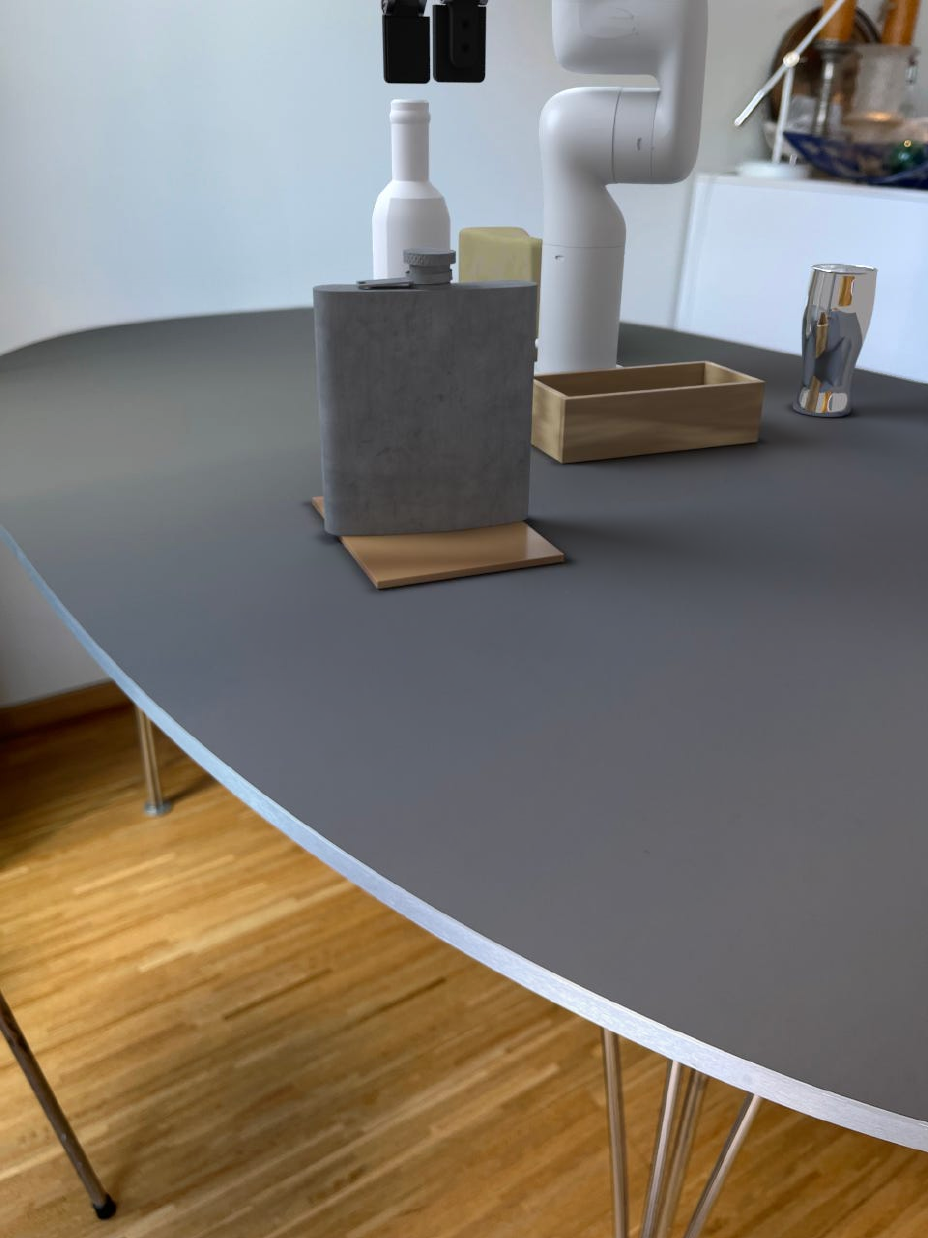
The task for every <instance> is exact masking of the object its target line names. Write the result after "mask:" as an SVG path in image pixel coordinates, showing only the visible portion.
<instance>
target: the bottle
mask: <svg viewBox="0 0 928 1238" xmlns="http://www.w3.org/2000/svg"><path fill="white" fill-rule="evenodd" d="M388 116H389V122H390V127H391V128H390V131H391V138H390V139H391V180H390V181H389V183H388V184H387V185H386V186H385V187H384V188H383V190H382V191H381V192H380V193H379V194H378V195H377V198H376V202H375V206H374V207H373V208H374V209H373V213H372V217H371V231H372V232H371V234H372V235H371V236H372V268H373V269H372V271H373V272H372V273H373V280H376V279H389V278H402V277H406V274H405V272H406V271H408V270H409V264H405V263H404V262H403V250H406V249H413V248H443V249H451V217H450V213H449V209H448V206H447V203H446V200H445V197H444V196H443V194H442V193H441V192H440V191H439V190H438V188H437V187H435V185H434V184H433V182H431V181H430V123H431V120H432V119H431V118H432V116H431V113H430V102H429V101H428V100H427V99H406V98H405V99H403V98H402V99H400V98H399V99H392V101H391V102H390V113H389V115H388Z"/></svg>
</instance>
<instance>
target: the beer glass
mask: <svg viewBox="0 0 928 1238" xmlns="http://www.w3.org/2000/svg"><path fill="white" fill-rule="evenodd" d="M878 272H879V271H878V268H876V267H873V266H869V265H861V264H853V263H851V264H850V263H818V264H814V265H812V266H811V268H810V274H809V278H808V282H807V286H806V291H805V294H804V295H805V296H804V301H803V307H802V316H801V374H800V379H799V385H798V388H797V391H796V394H795V396H794V399H793V403H792V409H793V410H794V412H797V413H799V414H803V415H807V416H812V417H819V418H840V417H846V416H848V415H849V414H850V413H851V410H852V409H851V408H852V407H851V406H852V403H851V400H852V399H851V397H852V396H851V395H852V394H851V391H852V383H853V382H852V381H853V376H854V372H855V369H856V366H857V363H858V360H859V357H860V355H861V352H862V349H863V347H864V344H865V341H866V338H867V335H868V332H869V329H870V325H871V321H872V315H873V311H874V306H875V305H874V304H875V299H876V298H875V297H876V288H877V277H878Z"/></svg>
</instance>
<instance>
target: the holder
mask: <svg viewBox="0 0 928 1238" xmlns="http://www.w3.org/2000/svg"><path fill="white" fill-rule="evenodd" d="M766 383H767V382H766V381H764V380H762V379H759V378H756V377H754V376H751V375H749V374H746V373H743V372H741V371H737V370H735V369H732V368H729V367H726V366H723V365H721V364H718V363H716V362H713V361H710V360H697V361H684V362H671V363H660V364H647V365H633V366H622V367H619V368H607V369H594V370H581V371H569V372H556V373H543V374H534V385H533V409H532V433H531V446H534V447H535V448H537V449H538V450H540V451H541V452H543V453H544V454H546V455H548V456H549V457H551V458H552V459H554V460H555V461H557V462H558V463H560V464H572V463H582V462H590V461H598V460H608V459H617V458H626V457H635V456H644V455H651V454H652V455H653V454H662V453H671V452H680V451H688V450H696V449H697V450H698V449H704V448H705V449H706V448H714V447H715V448H717V447H724V446H732V445H733V446H734V445H742V444H750V443H757V442H758V439H759V431H760V425H761V418H762V412H763V411H762V409H763V403H764V398H765V397H764V396H765V391H766V390H765V389H766Z"/></svg>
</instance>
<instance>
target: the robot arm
mask: <svg viewBox="0 0 928 1238" xmlns="http://www.w3.org/2000/svg"><path fill="white" fill-rule="evenodd" d="M438 1H439V4H436V3H435V4H432V6H431V7H432V8H431V9H432V10H431V11H432V12H431V13H432V15H431V16H432V78H433V80H434V81H435V82H436V83H439V84H440V83H442V84H443V83H445V84H447V83H449V84H453V83H457V84H481V83H483V82H484V81H485V79H486V70H487V68H486V67H487V66H486V65H487V58H486V57H487V5H488V2H489V0H438ZM427 2H428V0H380V11H381V12H380V13H381V31H382V33H381V36H382V68H383V69H382V70H383V71H382V73H383V75H382V76H383V80H384V81H385V83H386V84H389V85H390V84H392V85H400V84H401V85H426V84H428V83H430V81H431V16H429V15H428V16H427V15H425V12H426V8H427V4H428V3H427ZM708 32H709V3H708V0H551V35H552V36H551V37H552V46H553V47H552V48H553V52H554V56H555V59H556V61H557V63H558V64H559V65H560V67H561V68H563V69H564V70H566V71H568V72H571V73H576V74H581V75H583V74H584V75H603V76H604V75H606V76H607V75H610V76H611V75H612V76H613V75H614V76H615V75H616V76H619V75H620V76H621V75H625V76H626V75H628V76H630V75H635V76H636V75H637V76H640V75H641V76H642V75H643V76H644V75H645V76H648V75H649V76H651V77H654V79H655V80H656V81H657V83H658V86H659V87H627V86H626V87H625V86H581V87H580V86H579V87H578V86H577V87H572V88H568V89H564V90H561V91H559V92H557V93H556V94H553V96H551V97H550V98H548V100H547V102H546V103H545V104H544V106H543V108H542V110H541V113H540V116H539V122H538V144H539V154H540V164H541V174H542V175H541V176H542V190H543V216H542V217H543V220H542V221H543V222H542V240H543V242H542V265H541V288H540V312H539V335H538V339H536V340H535V347H536V348H537V349H538V358H537V362H534V374H543V373H556V372H569V371H581V370H594V369H607V368H619V367H623V366H622V365H619V364H617V358H618V344H619V331H620V320H621V319H620V318H621V309H622V308H621V306H622V292H623V282H624V281H623V280H624V279H623V278H624V267H625V254H626V244H627V243H626V241H627V226H626V225H627V224H626V219H625V218H624V215H623V212H622V210H621V209H620V207H619V205H618V204H617V202H616V200H615V199H614V198H613V196H612V195H611V193H610V192H609V190H608V189H607V186H608V185H618V184H630V185H672V184H673V185H674V184H678V183H681V182H683V181H685V180H686V179H688V177H689V176H690V175H691V173H692V172H693V171H694V169H695V166H696V162H697V159H698V155H699V147H700V141H701V128H702V118H703V101H704V89H705V75H706V62H707V48H708V35H709V34H708Z"/></svg>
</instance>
